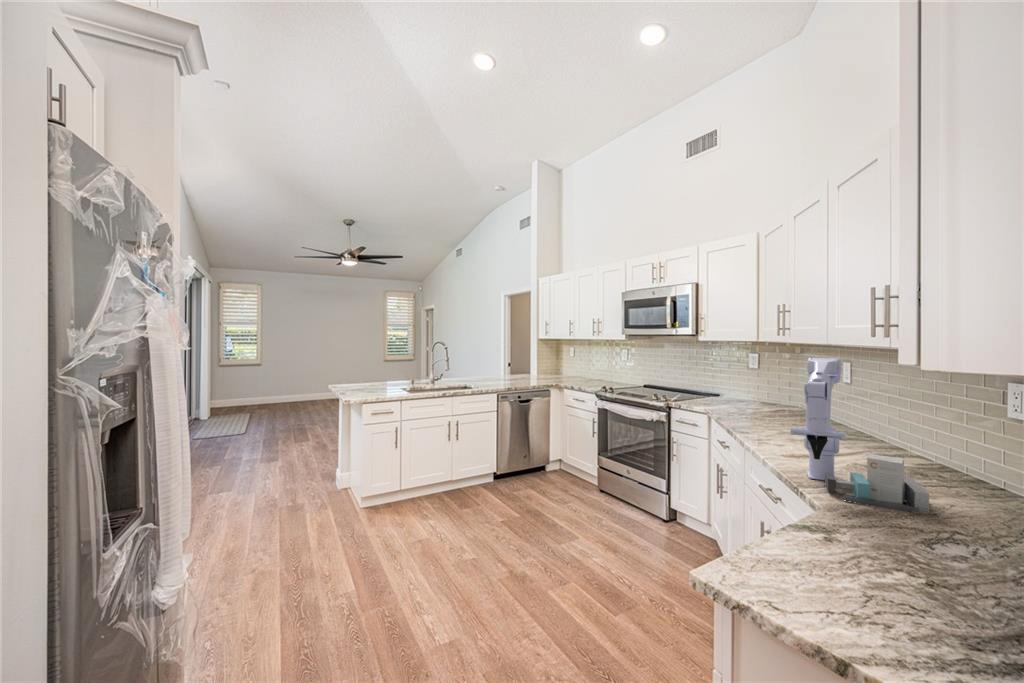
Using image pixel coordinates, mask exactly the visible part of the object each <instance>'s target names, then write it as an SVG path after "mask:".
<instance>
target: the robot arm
mask: <svg viewBox="0 0 1024 683" xmlns="http://www.w3.org/2000/svg"><path fill="white" fill-rule="evenodd" d="M806 365H807V374H808V381H807V382H804V385H803V395H804V403H805V428H795V427H794V428H792V427H789V434H790V436H803V437H804V439H803V440H804V441H803V442H804V443H803V445H804V446H803V447H804V448H805V449H806V450H807V452H808V454H809V455H808V458H809V459H808V463H809V465H808V469H806V473H807V476H808V478H809V479H812V480H820V481H825V473H827V474H833V476H834V477H835V479H836V480H838V479H837V477H836V475H835V456H836V455H837V454H838V453H840V440H842V441H846V433H844V432H840V431H838V430H836V429H835V428H833V427H832V426H831V408H832V390H833V388H834V385H836V384H838V383H840V380H841V377H842V375H841V374H842V359H841V358H839V357H837V358H833V357H831V358H830V357H829V358H828V357H827V358H826V357H825V358H824V357H811V356H810V357H809V358H808V359H807V364H806ZM835 454H836V455H835Z"/></svg>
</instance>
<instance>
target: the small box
mask: <svg viewBox="0 0 1024 683" xmlns="http://www.w3.org/2000/svg"><path fill="white" fill-rule="evenodd" d="M866 463H867V464H866V468H867V470H866V471H867V472H866V473H867V474H866V477H867V478H866V479H867V481H868V482H869V483H870V499H873V500H879V501H886V502H893V503H899V504H904V502H905V501H904V477H905V459H904V458H898V457H893V456H886V455H881V454H880V455H878V454H873V453H870V454H869V455H868V456H867V458H866Z"/></svg>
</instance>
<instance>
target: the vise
mask: <svg viewBox="0 0 1024 683" xmlns="http://www.w3.org/2000/svg"><path fill="white" fill-rule="evenodd" d="M842 498H843V499H844V500H846V501H851V502H850V503H852V502H856V503H855V504H858V503H861V504H860V505H865V504H868V505H867V506H871V505H873V506H872V507H878V508H883V509H884V508H885V509H890V510H899V511H904V512H911V513H917V514H923V513H924V515H930V493H929V492H928V491H927V490H926V489H925V488H923V486H921V485H920V484H919V483H918V482H917V480H915V479H914V478H913V477H912V476H904V502H905V503H903V504H899V503H893V502H886V501H879V500H873V499H866V498H859V497H855V496H851V495H844V494H843V495H842ZM843 499H842V500H843ZM844 500H843V501H844ZM846 501H845V502H846Z"/></svg>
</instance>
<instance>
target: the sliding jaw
mask: <svg viewBox="0 0 1024 683" xmlns="http://www.w3.org/2000/svg"><path fill="white" fill-rule="evenodd" d="M849 474H850V475H849V476H850V477H849V478H850V480H849V481H847V480H839V479H837V478H836V479H837V480H836V479H835V477H836V476H835V475H834V476H835V477H834V476H833V474H827V473H825V480H824V485H825V488H826V490H827V491H828V492H832V493H836V492H837V490H836V489H837V488H842V489H849V490H851V492H852V494H853V495H854V497H859V498H866V499H870V483H869V482H868V481H867V478H866V477H865V476H864V474H863V473H858V472H850V473H849Z"/></svg>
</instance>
